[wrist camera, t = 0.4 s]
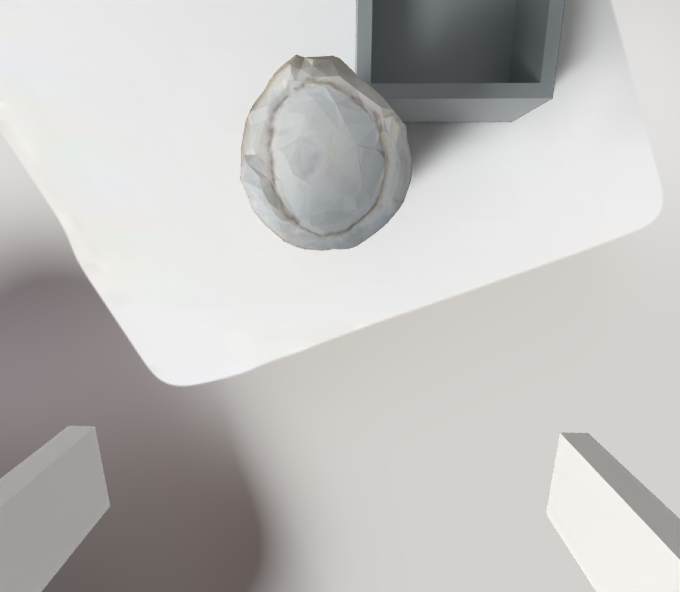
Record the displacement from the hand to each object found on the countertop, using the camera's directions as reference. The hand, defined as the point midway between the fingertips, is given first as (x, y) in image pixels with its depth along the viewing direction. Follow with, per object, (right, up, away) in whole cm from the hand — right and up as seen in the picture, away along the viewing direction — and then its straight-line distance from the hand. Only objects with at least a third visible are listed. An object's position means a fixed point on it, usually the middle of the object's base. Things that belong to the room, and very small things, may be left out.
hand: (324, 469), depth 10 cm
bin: (+9, +27, +20) cm, 35 cm away
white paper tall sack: (0, +15, +23) cm, 28 cm away
